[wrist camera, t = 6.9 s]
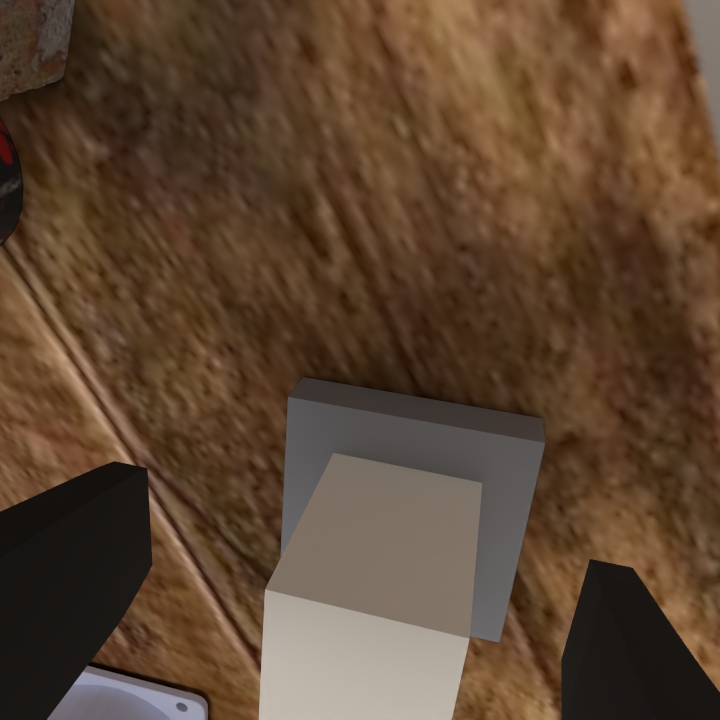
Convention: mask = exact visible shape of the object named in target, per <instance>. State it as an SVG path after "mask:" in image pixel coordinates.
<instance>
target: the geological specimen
mask: <svg viewBox="0 0 720 720" xmlns="http://www.w3.org/2000/svg"><path fill="white" fill-rule="evenodd" d="M74 2H75V0H0V101H3V100H6V99H8V98H9V96H10V94H15V93H22V92H25V91H27V90H29V89H38V88H40V87H43V86H45V85H46V84H49V83H53V82H56V81H58V80H60V79H61V78H62V77H63V76H64V71H65V66H66V62H67V54H68V47H69V40H70V33H71V26H72V16H73V9H74Z"/></svg>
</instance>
